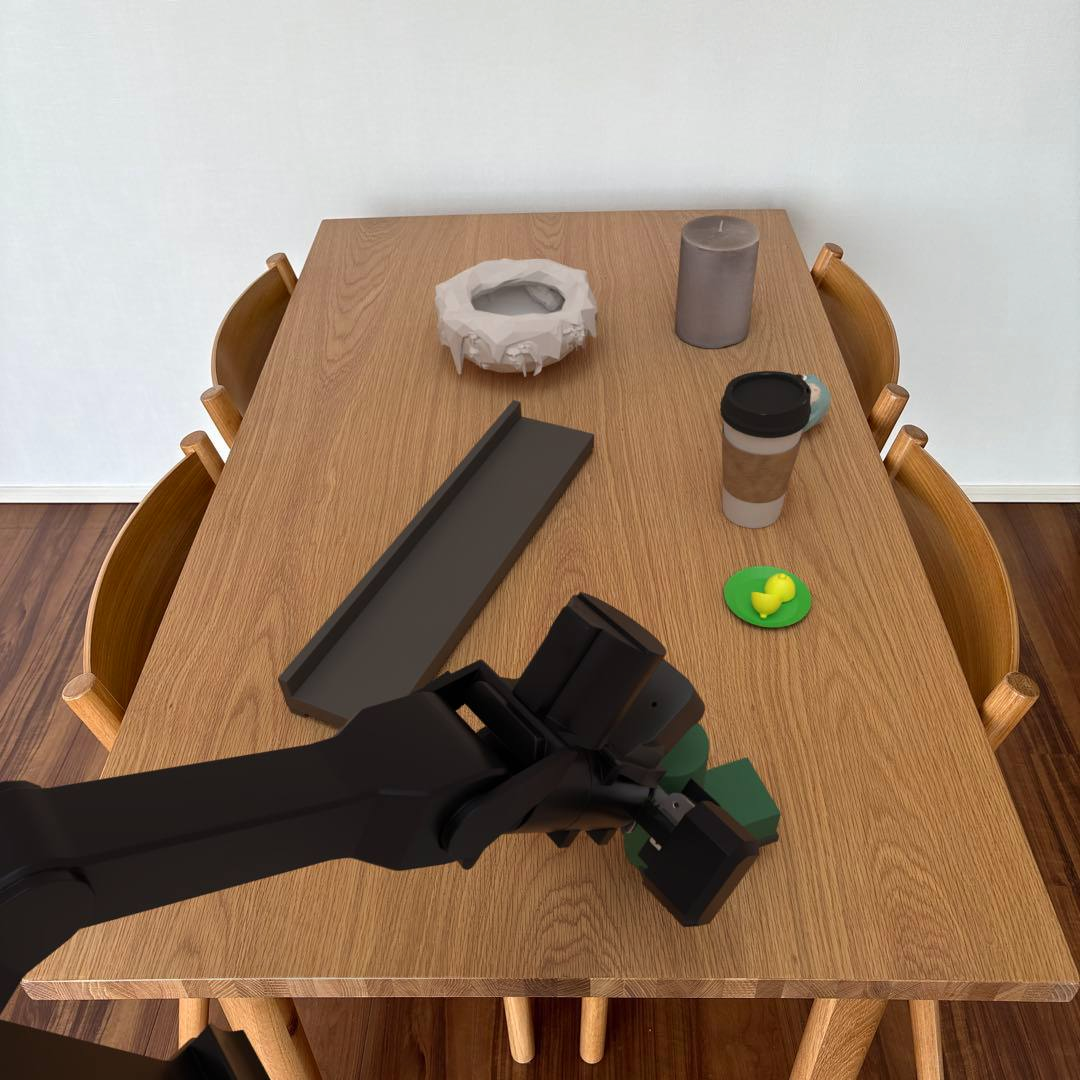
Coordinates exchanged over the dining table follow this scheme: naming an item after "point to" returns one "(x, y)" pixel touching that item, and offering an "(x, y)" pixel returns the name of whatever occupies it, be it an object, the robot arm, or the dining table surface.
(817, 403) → the stuffed animal
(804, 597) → the green flat round tray
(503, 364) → the bowl
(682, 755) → the green cylinder on block
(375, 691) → the shoe shelf
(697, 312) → the pillar candle
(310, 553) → the dining table surface
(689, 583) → the dining table surface
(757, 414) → the coffee cup
